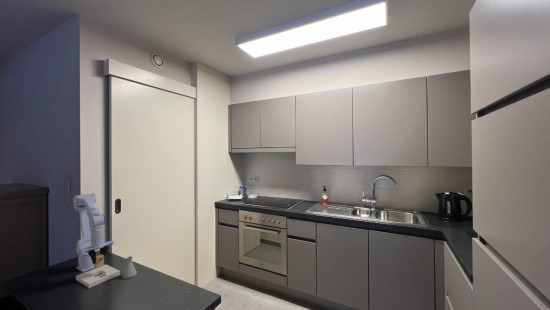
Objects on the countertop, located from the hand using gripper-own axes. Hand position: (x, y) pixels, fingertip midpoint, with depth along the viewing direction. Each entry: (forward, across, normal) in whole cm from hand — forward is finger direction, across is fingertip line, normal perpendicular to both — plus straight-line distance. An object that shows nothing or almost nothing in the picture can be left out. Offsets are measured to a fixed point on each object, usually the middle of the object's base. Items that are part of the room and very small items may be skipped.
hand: (98, 261), depth 119 cm
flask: (+9, +9, -14) cm, 19 cm away
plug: (+2, 0, -1) cm, 2 cm away
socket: (+8, 0, 0) cm, 8 cm away
